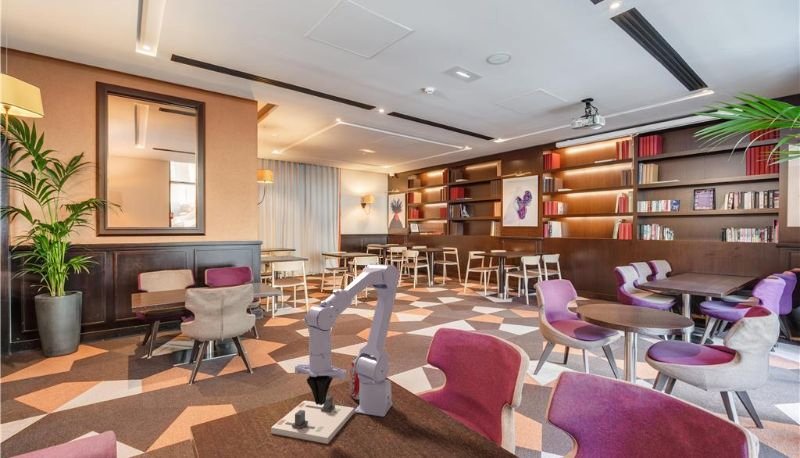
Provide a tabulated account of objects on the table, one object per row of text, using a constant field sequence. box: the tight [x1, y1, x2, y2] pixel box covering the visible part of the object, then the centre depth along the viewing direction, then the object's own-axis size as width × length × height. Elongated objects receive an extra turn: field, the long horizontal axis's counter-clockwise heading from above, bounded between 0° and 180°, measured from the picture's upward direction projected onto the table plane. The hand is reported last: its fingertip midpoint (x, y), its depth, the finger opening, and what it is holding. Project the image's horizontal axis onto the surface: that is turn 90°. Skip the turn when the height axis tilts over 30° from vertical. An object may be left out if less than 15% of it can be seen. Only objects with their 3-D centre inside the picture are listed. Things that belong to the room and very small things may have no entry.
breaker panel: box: [270, 400, 355, 445], centre depth 99 cm, size 17×16×2 cm
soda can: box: [349, 356, 360, 401], centre depth 115 cm, size 7×7×12 cm
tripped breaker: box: [292, 410, 308, 429], centre depth 95 cm, size 3×3×3 cm
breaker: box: [321, 394, 335, 412], centre depth 103 cm, size 3×3×3 cm
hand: (320, 403), depth 93 cm, fingers closed
